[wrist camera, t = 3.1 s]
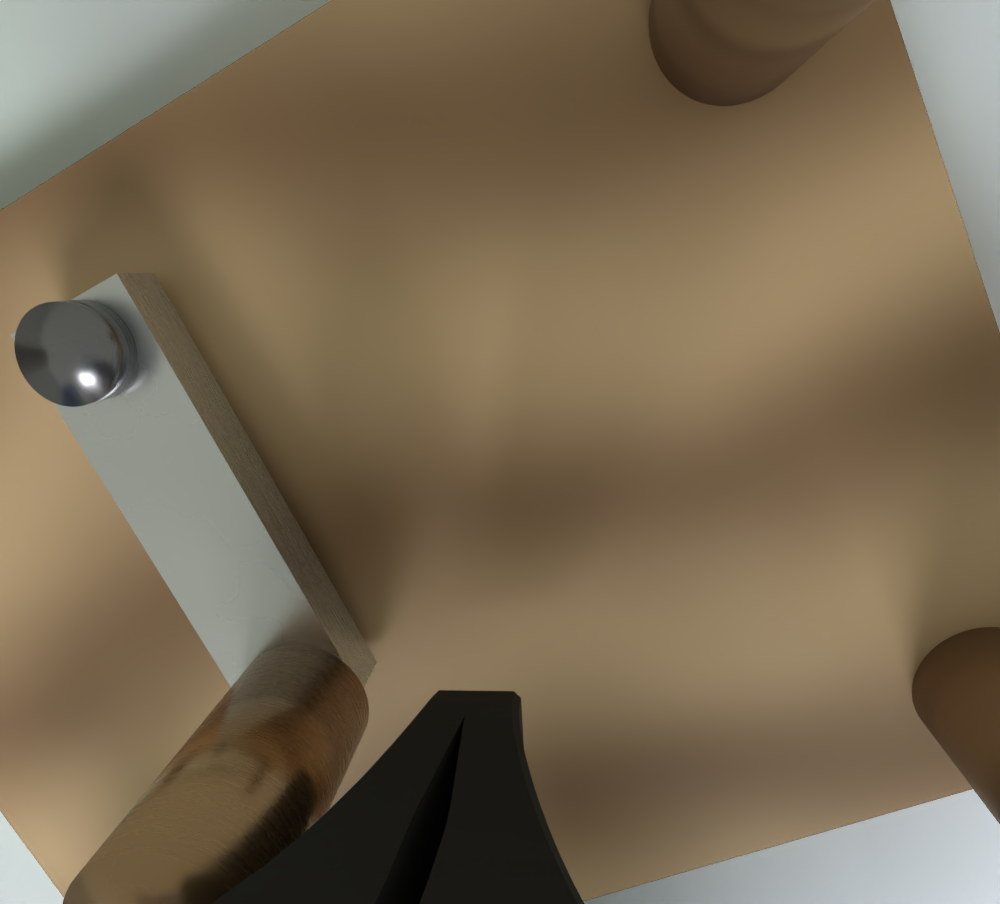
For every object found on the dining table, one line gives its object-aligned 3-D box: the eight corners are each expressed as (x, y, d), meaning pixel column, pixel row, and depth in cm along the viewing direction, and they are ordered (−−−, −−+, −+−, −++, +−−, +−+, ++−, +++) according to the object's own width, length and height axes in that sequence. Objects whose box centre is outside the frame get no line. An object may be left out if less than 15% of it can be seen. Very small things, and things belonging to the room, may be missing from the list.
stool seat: (1087, 701, 13) (1595, 1137, 7) (183, 975, 18) (-51, 1398, 11) (769, -230, 10) (1133, -1168, 4) (-232, 390, 15) (-903, 493, 8)
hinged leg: (51, 331, 12) (-353, 382, 7) (159, 270, 12) (-185, 273, 6) (302, 741, 14) (132, 1034, 9) (405, 702, 13) (293, 988, 8)
